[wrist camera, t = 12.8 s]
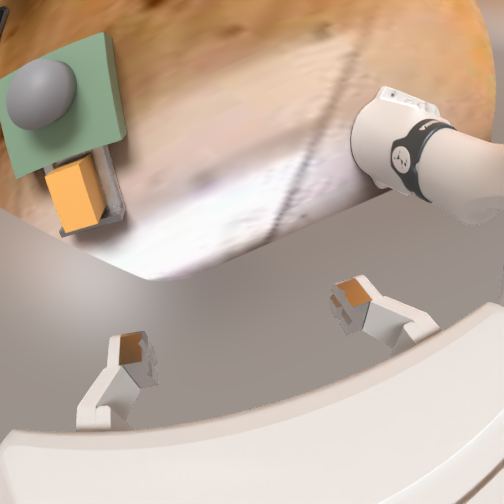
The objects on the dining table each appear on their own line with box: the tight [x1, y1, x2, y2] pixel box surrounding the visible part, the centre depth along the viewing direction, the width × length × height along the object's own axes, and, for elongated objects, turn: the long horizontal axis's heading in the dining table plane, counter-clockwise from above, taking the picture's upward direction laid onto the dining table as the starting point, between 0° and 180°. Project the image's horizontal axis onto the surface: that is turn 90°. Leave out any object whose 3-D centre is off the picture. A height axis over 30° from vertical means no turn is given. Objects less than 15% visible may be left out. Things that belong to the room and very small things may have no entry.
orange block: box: [45, 152, 106, 233], centre depth 31 cm, size 5×8×6 cm, turn 6°
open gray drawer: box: [43, 144, 126, 237], centre depth 33 cm, size 10×11×4 cm
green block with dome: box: [0, 32, 127, 179], centre depth 24 cm, size 16×14×9 cm
